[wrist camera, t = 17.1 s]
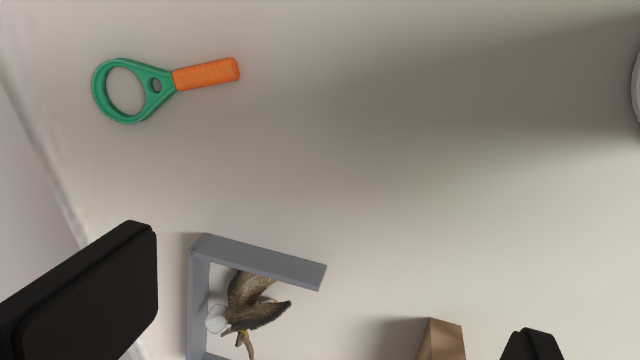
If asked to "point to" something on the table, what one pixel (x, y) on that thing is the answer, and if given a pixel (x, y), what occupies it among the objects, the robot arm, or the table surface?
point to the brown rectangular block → (442, 342)
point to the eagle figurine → (245, 308)
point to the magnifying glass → (169, 82)
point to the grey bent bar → (242, 259)
